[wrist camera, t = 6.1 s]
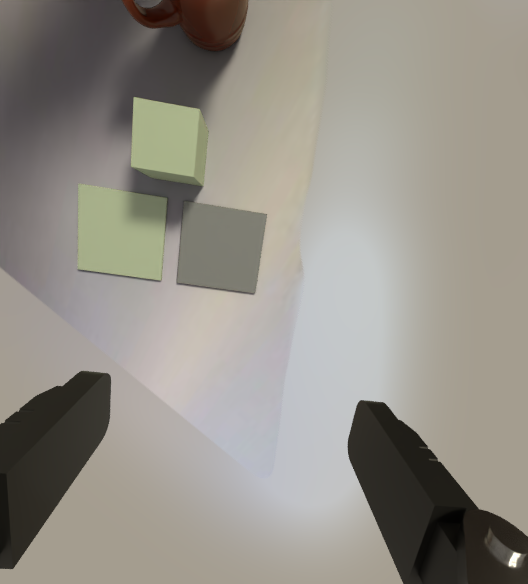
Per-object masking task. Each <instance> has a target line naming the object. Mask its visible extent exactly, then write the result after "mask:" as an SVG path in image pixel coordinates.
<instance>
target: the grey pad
mask: <svg viewBox="0 0 528 584" xmlns="http://www.w3.org/2000/svg"><path fill="white" fill-rule="evenodd" d="M266 218H267V214H262V213H256V212H250V211H244V210H238V209H232V208H225V207H219V206H213V205H207V204H201V203H195V202H188V201H184V207H183V218H182V230H181V241H180V253H179V264H178V276H177V283H183V284H190V285H198V286H205V287H212V288H220V289H227V290H234V291H241V292H249V293H255V291H256V284H257V278H258V271H259V264H260V258H261V251H262V244H263V238H264V231H265V224H266Z"/></svg>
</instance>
